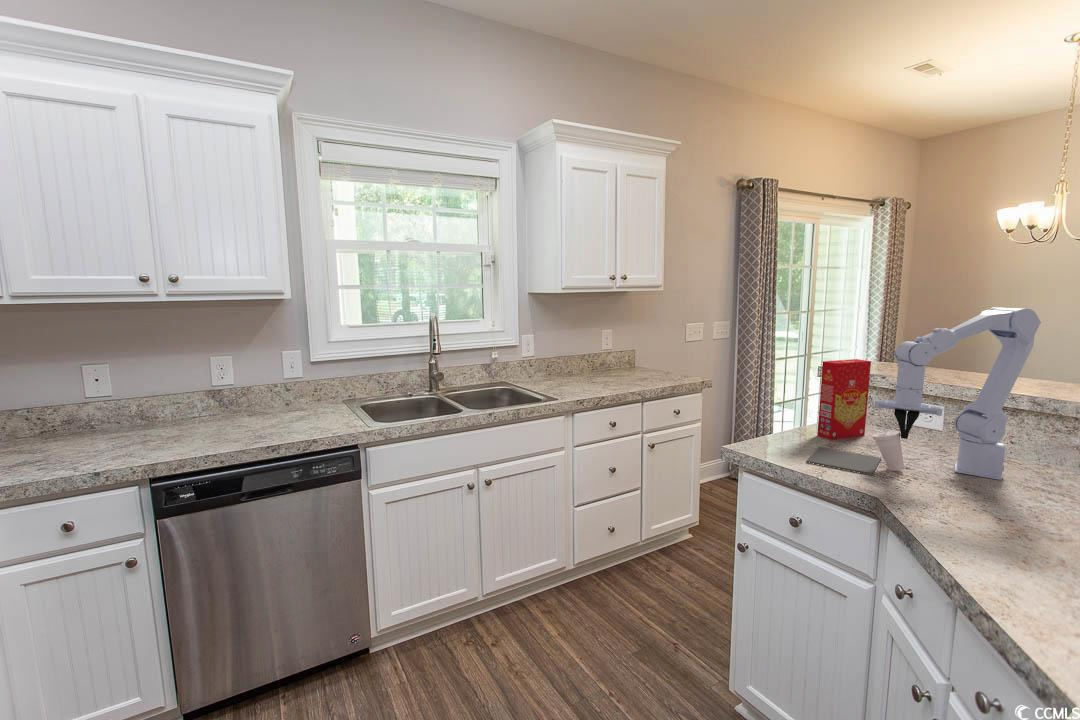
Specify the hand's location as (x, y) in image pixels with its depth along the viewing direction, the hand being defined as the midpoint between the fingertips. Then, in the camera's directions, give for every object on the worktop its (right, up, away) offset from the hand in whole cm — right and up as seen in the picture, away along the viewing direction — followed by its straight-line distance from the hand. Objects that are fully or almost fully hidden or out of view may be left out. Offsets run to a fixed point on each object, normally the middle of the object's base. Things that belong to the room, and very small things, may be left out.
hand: (904, 437), depth 138 cm
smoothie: (-1, -9, +2) cm, 9 cm away
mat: (-10, -8, +10) cm, 17 cm away
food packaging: (+3, -5, +35) cm, 35 cm away
